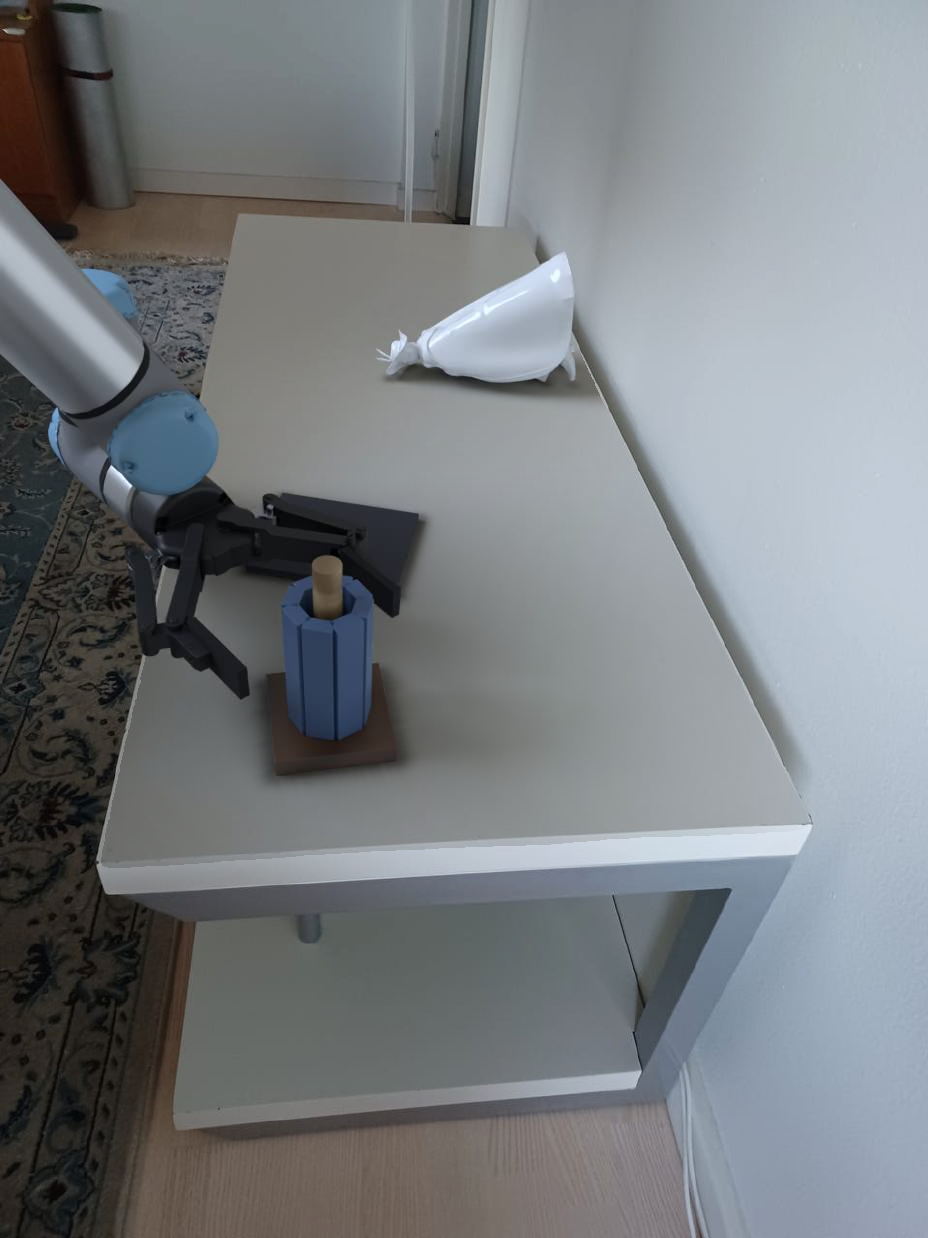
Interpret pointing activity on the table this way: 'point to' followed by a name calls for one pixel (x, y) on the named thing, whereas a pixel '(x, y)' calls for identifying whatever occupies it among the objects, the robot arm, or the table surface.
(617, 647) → the table surface
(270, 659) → the table surface
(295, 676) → the sleeve
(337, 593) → the dowel stand
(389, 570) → the mat
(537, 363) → the knotted white bag
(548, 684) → the table surface
